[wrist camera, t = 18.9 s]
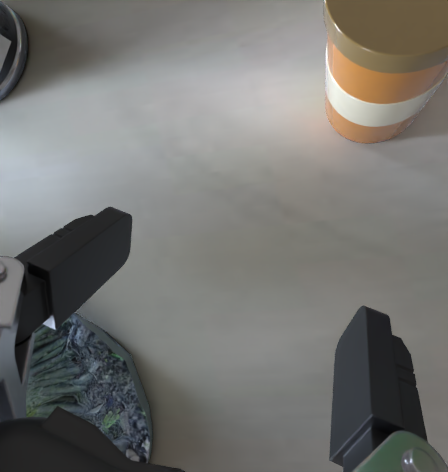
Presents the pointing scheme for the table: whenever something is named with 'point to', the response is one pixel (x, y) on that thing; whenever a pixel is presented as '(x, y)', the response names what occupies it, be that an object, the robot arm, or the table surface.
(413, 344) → the table surface
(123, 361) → the tree stump
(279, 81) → the table surface
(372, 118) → the honey jar
